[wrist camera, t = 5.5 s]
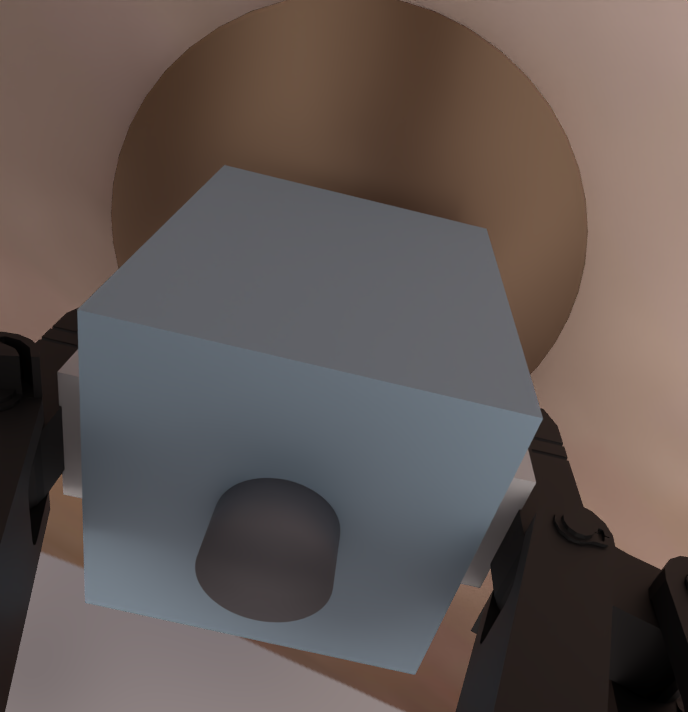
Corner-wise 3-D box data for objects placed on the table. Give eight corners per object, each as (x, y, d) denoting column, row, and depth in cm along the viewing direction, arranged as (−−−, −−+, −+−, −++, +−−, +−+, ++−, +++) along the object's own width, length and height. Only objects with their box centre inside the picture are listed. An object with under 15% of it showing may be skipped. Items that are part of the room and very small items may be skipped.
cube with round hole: (201, 381, 17) (57, 654, 10) (224, 165, 14) (35, 349, 7) (414, 430, 17) (415, 731, 10) (486, 228, 14) (558, 470, 7)
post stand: (121, 386, 22) (-51, 625, 14) (123, -67, 15) (-237, -124, 7) (489, 468, 23) (533, 749, 14) (671, 65, 15) (975, 167, 7)
